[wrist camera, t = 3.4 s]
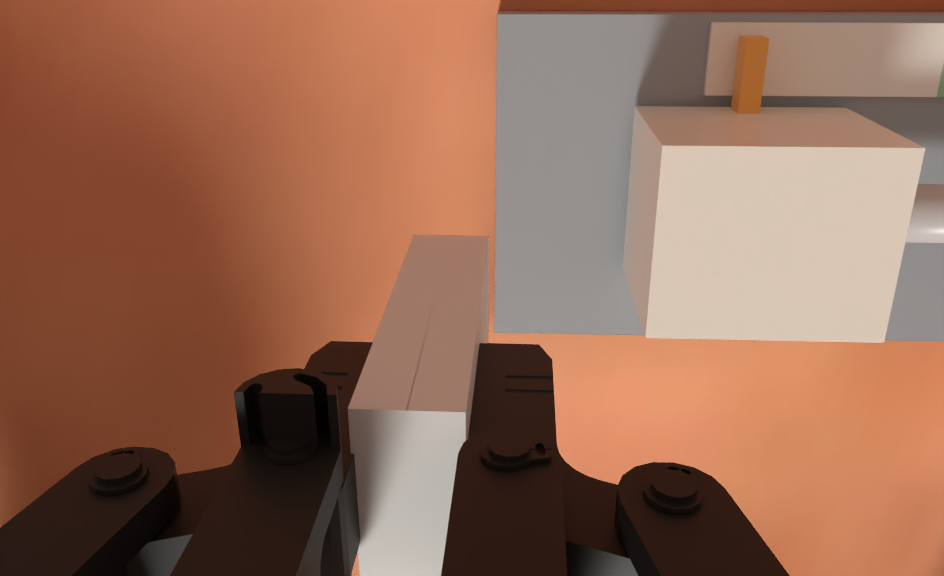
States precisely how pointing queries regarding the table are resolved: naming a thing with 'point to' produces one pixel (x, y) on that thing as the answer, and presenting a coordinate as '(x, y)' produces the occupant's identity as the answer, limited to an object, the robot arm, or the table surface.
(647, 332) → the plunger
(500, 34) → the gauge board
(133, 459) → the robot arm
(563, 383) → the table surface
